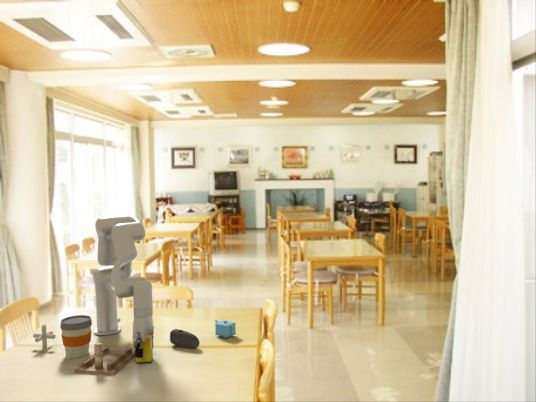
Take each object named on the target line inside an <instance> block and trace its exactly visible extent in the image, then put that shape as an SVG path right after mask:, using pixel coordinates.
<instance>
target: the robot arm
mask: <svg viewBox="0 0 536 402" xmlns="http://www.w3.org/2000/svg"><path fill="white" fill-rule="evenodd" d="M95 232H96V234H97V239H98V240H97V262H98V265H100V266H101V267H98V268H96V269H94V271H93V273H92V280H93V284H94V290H95V291H94V292H95V307H96V308H95V309H96V311H95V313H96V327H95V328H94V329H93V333H94V335H97V336H110V335H115V334H117V333H120V332H121V331H122V327H121V326H120V325H118V323H121V321H122V320H121V318H120V317H118V301H117V299H127V298H132V301H133V302H132V304H133V305H132V306H133V307H132V308H133V322H132V342H133V347H134V351H135V357H134V358H143V348H142V345H143V342H145V341H146V337H147V336H149V335H150V334H152V342H153V343H154V333H155V332H154V329H155V326H154V320H153V316H154V311H153V307H154V306H153V285H152V282H151V281H149V280H148V278H146V277H144V276H139V277H132V278H131V275H132V265H133V263H132V262H133V261H134V260H135V259H136V258H137V257H138V251H137V248H136V243H135V242H141V241H143V240H144V239H145V236H146V230H145V226H144V224H143V223H142V222H141V221H140V220H139V219H138V218H137V217H136V216H133V215H131V214H130V215H127V214H125V215H111V216H101V217H98V218H97V219H96V221H95ZM112 287H113V288H112ZM138 339H142V340H138ZM138 342H141V343H140V344H139V343H138Z"/></svg>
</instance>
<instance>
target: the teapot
mask: <svg viewBox="0 0 536 402" xmlns="http://www.w3.org/2000/svg"><path fill="white" fill-rule="evenodd" d="M214 322H215V323H214V325H215V326H214V327H215V329H214V330H215V333H214V334H215V336H218V337H219V336H222V337H221V338H224V337H225V338H227V339H228V338H230V336H232V337H233V336H235V335H236V322H233V321H230V320H226V319H223V320H220V321H218V320H217V319H214Z"/></svg>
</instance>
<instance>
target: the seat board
mask: <svg viewBox="0 0 536 402" xmlns="http://www.w3.org/2000/svg"><path fill="white" fill-rule="evenodd" d="M93 346H94V347H93V349H94V353H93V354H92V355H91V356H89V357H88V358H86V359H85V360H84V361H82V362H81V365H79V366H77V367H76V368H74V373H75V374H90V375H103V376H104V375H105V376H114V375H116V373H117V372H120V370H121V369H122V368H124V367H125V366H126V365H127V364H128V363H130V362H131V361H132V360H133V359H134V358H136V357H135V350H133V348H132V347H127V348H126V349H111V348H110V346H108V345H106V346H103V343H102V342H96V343H94V345H93Z"/></svg>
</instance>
